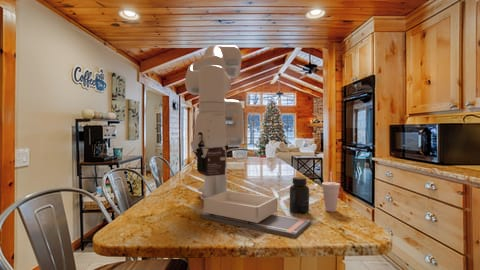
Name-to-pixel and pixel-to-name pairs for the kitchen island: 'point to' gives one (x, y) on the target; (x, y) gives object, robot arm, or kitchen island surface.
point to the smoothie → (330, 194)
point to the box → (215, 162)
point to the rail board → (267, 223)
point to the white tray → (240, 206)
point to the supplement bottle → (299, 196)
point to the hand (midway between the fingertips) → (211, 169)
